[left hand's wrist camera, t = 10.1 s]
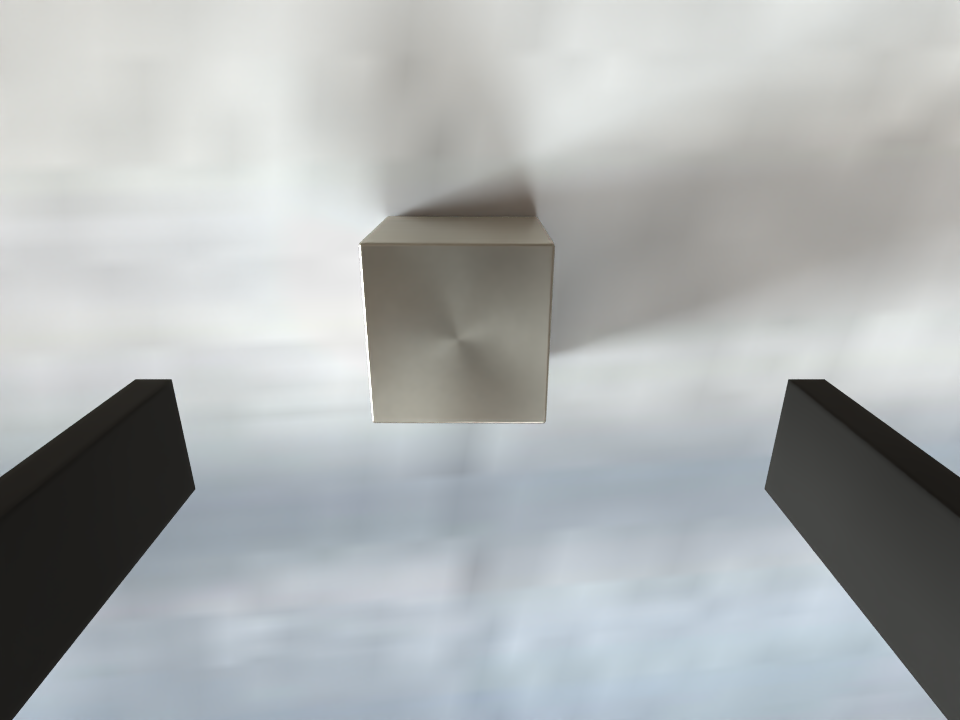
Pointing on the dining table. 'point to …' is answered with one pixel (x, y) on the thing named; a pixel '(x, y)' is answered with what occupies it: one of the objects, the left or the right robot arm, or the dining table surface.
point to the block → (458, 318)
